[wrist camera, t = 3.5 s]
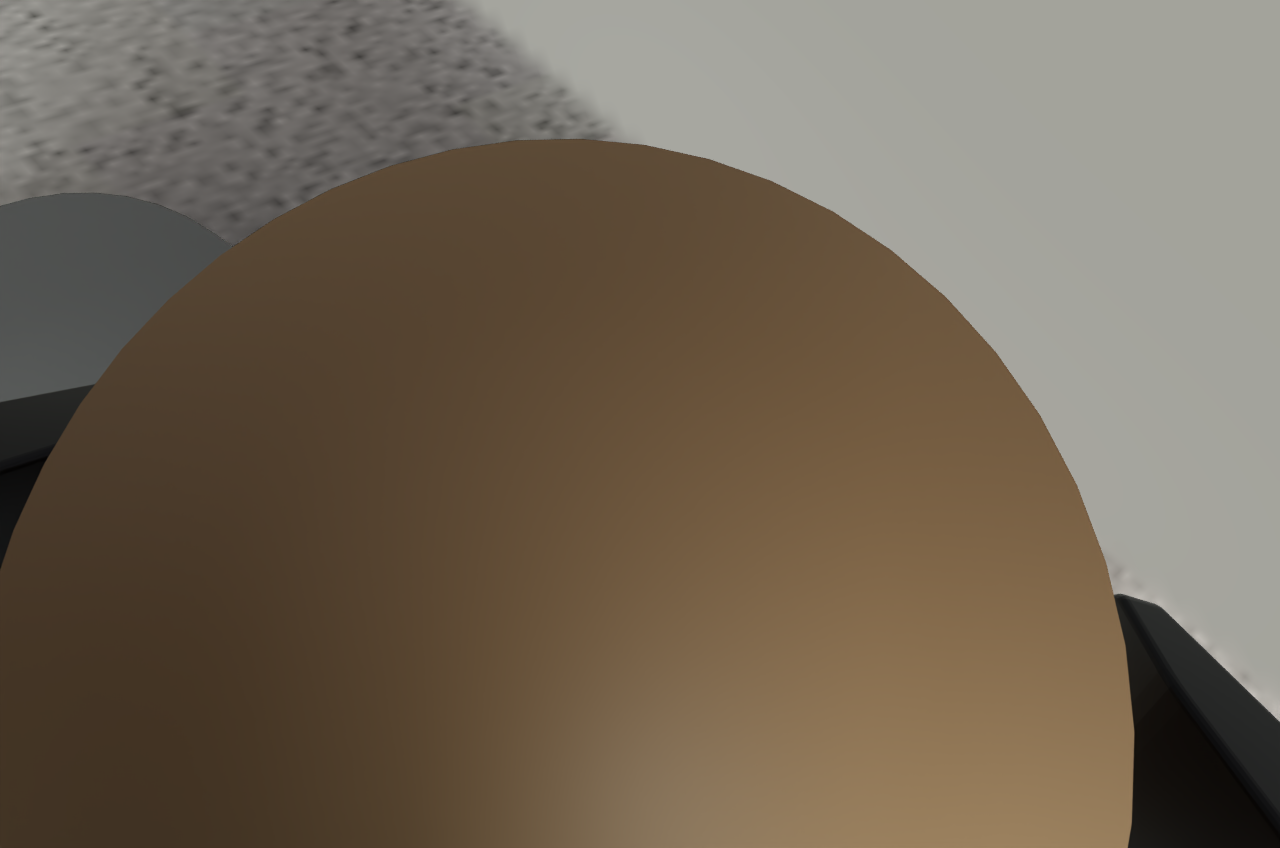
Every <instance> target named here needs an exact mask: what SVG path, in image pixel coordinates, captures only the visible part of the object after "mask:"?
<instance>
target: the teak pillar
mask: <svg viewBox="0 0 1280 848" xmlns="http://www.w3.org/2000/svg"><path fill="white" fill-rule="evenodd" d="M1133 762H1134V724H1133V715H1132V705H1131V695H1130V685H1129V676H1128V666H1127V656H1126V646H1125V641H1124V637H1123V633H1122V629H1121V624H1120V620H1119V616H1118V612H1117V607H1116V603H1115V599H1114V595H1113V590H1112V586H1111V582H1110V578H1109V573H1108V569H1107V565H1106V561H1105V559H1104V556H1103V553H1102V551H1101V548H1100V545H1099V543H1098V540H1097V537H1096V535H1095V532H1094V529H1093V527H1092V524H1091V521H1090V519H1089V516H1088V513H1087V511H1086V508H1085V505H1084V503H1083V500H1082V498H1081V495H1080V492H1079V489H1078V487H1077V485H1076V483H1075V481H1074V479H1073V477H1072V475H1071V473H1070V471H1069V469H1068V468H1067V466H1066V464H1065V462H1064V460H1063V458H1062V456H1061V454H1060V453H1059V451H1058V448H1057V447H1056V445H1055V443H1054V441H1053V439H1052V437H1051V435H1050V433H1049V432H1048V430H1047V428H1046V426H1045V424H1044V422H1043V420H1042V418H1041V416H1040V415H1039V413H1038V412H1037V410H1036V409H1035V408H1034V406H1033V405H1032V403H1031V402H1030V400H1029V399H1028V398H1027V396H1026V395H1025V393H1024V392H1023V390H1022V389H1021V388H1020V386H1019V385H1018V383H1017V382H1016V380H1015V379H1014V377H1013V376H1012V375H1011V373H1010V372H1009V370H1008V369H1007V367H1006V366H1005V365H1004V363H1003V362H1002V360H1001V359H1000V358H999V356H998V355H997V353H996V352H995V351H994V350H993V349H992V347H991V346H990V345H989V344H988V343H987V342H986V341H985V340H984V339H983V338H982V336H980V334H979V333H978V332H977V331H976V330H975V329H974V328H973V327H972V325H971V324H970V323H969V322H968V321H967V320H966V319H965V318H964V317H963V315H962V314H961V313H960V312H959V311H958V310H957V309H956V308H955V307H954V306H953V305H952V303H951V302H950V301H949V300H948V299H947V298H946V297H945V296H944V295H943V294H942V293H940V292H939V291H938V290H937V289H936V288H934V287H933V286H932V285H931V284H930V283H929V282H928V281H926V280H925V279H924V278H923V277H922V276H921V275H919V274H918V273H917V272H916V271H915V270H914V269H912V268H911V267H910V266H909V265H908V264H907V263H905V262H904V261H903V260H902V259H901V258H900V257H899V256H897V255H896V254H895V253H894V252H893V251H891V250H890V249H889V248H887V247H886V246H884V245H882V244H881V243H880V242H878V241H876V240H875V239H873V238H872V237H870V236H869V235H867V234H866V233H864V232H863V231H861V230H860V229H858V228H857V227H855V226H854V225H852V224H851V223H849V222H848V221H846V220H845V219H843V218H842V217H840V216H839V215H837V214H836V213H834V212H833V211H830V210H828V209H826V208H825V207H822V206H820V205H818V204H816V203H814V202H813V201H811V200H808V199H806V198H804V197H802V196H800V195H798V194H796V193H794V192H792V191H790V190H788V189H786V188H784V187H782V186H780V185H778V184H776V183H774V182H772V181H770V180H767V179H764V178H761V177H758V176H755V175H752V174H750V173H747V172H744V171H741V170H738V169H735V168H733V167H729V166H727V165H724V164H721V163H718V162H715V161H713V160H710V159H706V158H701V157H696V156H692V155H688V154H683V153H679V152H674V151H669V150H665V149H660V148H656V147H651V146H647V145H639V144H628V143H618V142H607V141H597V140H586V139H556V140H516V141H509V142H502V143H495V144H488V145H481V146H474V147H467V148H460V149H453V150H449V151H445V152H441V153H438V154H434V155H430V156H426V157H422V158H419V159H415V160H411V161H407V162H403V163H400V164H396V165H392V166H389V167H386V168H384V169H381V170H379V171H376V172H374V173H371V174H369V175H366V176H363V177H361V178H358V179H356V180H353V181H351V182H348V183H346V184H343V185H340V186H338V187H335V188H333V189H330V190H328V191H327V192H325V193H323V194H321V195H319V196H317V197H315V198H313V199H311V200H309V201H308V202H306V203H304V204H302V205H300V206H298V207H296V208H294V209H292V210H291V211H289V212H287V213H285V214H283V215H281V216H279V217H277V218H275V219H273V220H272V221H270V222H269V223H268V224H266V225H265V226H263V227H262V228H260V229H259V230H257V231H256V232H254V233H253V234H251V235H250V236H248V237H247V238H245V239H244V240H242V241H241V242H240V243H238V244H237V245H235V246H234V247H232V248H231V249H229V250H228V251H226V252H225V253H223V254H222V255H220V256H219V257H218V258H217V259H215V260H214V261H213V262H212V263H211V264H210V265H208V266H207V267H206V268H205V269H204V270H203V271H201V272H200V273H199V274H198V275H197V276H195V277H194V278H193V279H192V280H191V281H190V282H188V283H187V284H186V285H185V286H184V287H183V288H181V289H180V290H179V291H178V292H177V293H176V294H174V295H173V296H172V297H171V298H170V299H168V301H167V302H166V303H165V304H164V305H163V306H162V307H161V308H160V309H159V310H158V311H157V312H156V313H155V314H154V315H153V316H152V317H151V319H150V320H149V321H148V322H147V323H146V324H145V325H144V326H143V327H142V328H141V329H140V330H139V331H138V332H137V333H136V334H135V336H134V337H133V338H132V339H131V340H130V341H129V342H128V343H127V344H126V345H125V346H124V347H123V348H122V349H121V351H120V352H119V353H118V355H117V356H116V357H115V359H114V360H113V361H112V363H111V364H110V365H109V367H108V368H107V369H106V371H105V372H104V373H103V374H102V376H101V377H100V378H99V380H98V381H97V382H96V384H95V385H94V386H93V388H92V389H91V390H90V392H89V393H88V394H87V396H86V397H85V398H84V400H83V401H82V402H81V404H80V405H79V407H78V408H77V410H76V412H75V413H74V415H73V417H72V418H71V420H70V422H69V423H68V425H67V427H66V428H65V430H64V432H63V433H62V435H61V437H60V438H59V440H58V442H57V443H56V445H55V447H54V448H53V450H52V452H51V453H50V455H49V457H48V458H47V460H46V462H45V463H44V465H43V467H42V470H41V472H40V474H39V476H38V478H37V480H36V483H35V485H34V487H33V489H32V491H31V493H30V496H29V498H28V500H27V502H26V504H25V506H24V509H23V511H22V513H21V515H20V517H19V519H18V522H17V524H16V526H15V528H14V530H13V533H12V536H11V539H10V542H9V545H8V548H7V551H6V554H5V557H4V560H3V563H2V566H1V569H0V848H1128V842H1129V836H1130V830H1131V824H1132V796H1133Z"/></svg>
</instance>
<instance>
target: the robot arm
mask: <svg viewBox="0 0 1280 848" xmlns="http://www.w3.org/2000/svg"><path fill="white" fill-rule="evenodd" d="M94 385H95V384H91V385H86V386H81V387H75V388H70V389H65V390H60V391H54V392H49V393H44V394H38V395H33V396H28V397H23V398H17V399H12V400H7V401H1V402H0V569H1V566H2V563H3V560H4V557H5V554H6V551H7V548H8V545H9V542H10V539H11V536H12V533H13V530H14V528H15V526H16V524H17V522H18V519H19V517H20V515H21V513H22V511H23V509H24V506H25V504H26V502H27V500H28V498H29V496H30V493H31V491H32V489H33V487H34V485H35V483H36V480H37V478H38V476H39V474H40V472H41V470H42V467H43V465H44V463H45V462H46V460H47V458H48V457H49V455H50V453H51V452H52V450H53V448H54V447H55V445H56V443H57V442H58V440H59V438H60V437H61V435H62V433H63V432H64V430H65V428H66V427H67V425H68V423H69V422H70V420H71V418H72V417H73V415H74V413H75V412H76V410H77V408H78V407H79V405H80V404H81V402H82V401H83V400H84V398H85V397H86V396H87V394H88V393H89V392H90V390H91V389H92V388H93V386H94ZM1114 599H1115V603H1116V607H1117V612H1118V616H1119V620H1120V624H1121V629H1122V633H1123V637H1124V641H1125V646H1126V656H1127V666H1128V676H1129V685H1130V695H1131V705H1132V715H1133V724H1134V762H1133V796H1132V824H1131V830H1130V836H1129V842H1128V848H1280V722H1279V721H1278V720H1277V719H1276V718H1275V717H1274V716H1273V715H1272V714H1271V713H1270V712H1269V711H1268V710H1267V709H1266V708H1265V707H1264V706H1263V705H1262V704H1261V703H1260V702H1259V701H1258V700H1257V699H1255V698H1254V697H1253V696H1252V695H1251V694H1250V693H1249V692H1248V691H1247V690H1246V689H1245V688H1244V687H1243V686H1242V685H1241V684H1240V683H1239V682H1238V681H1237V680H1236V679H1235V678H1234V677H1233V676H1232V675H1231V674H1230V673H1229V672H1228V671H1227V670H1226V669H1224V668H1223V667H1222V666H1221V665H1220V664H1219V663H1218V662H1217V661H1216V660H1215V659H1214V658H1213V657H1212V656H1211V655H1210V654H1209V653H1208V652H1207V651H1206V650H1205V649H1204V648H1203V647H1202V646H1201V645H1200V644H1199V643H1198V642H1197V641H1196V640H1195V639H1194V638H1192V637H1191V636H1190V635H1189V634H1188V633H1187V632H1186V631H1185V630H1184V629H1183V628H1182V627H1181V626H1180V625H1179V624H1178V623H1177V622H1176V621H1175V620H1174V619H1173V618H1172V617H1171V616H1170V615H1169V614H1168V613H1167V612H1166V611H1165V610H1163V609H1162V608H1161V607H1160V606H1158V605H1156V604H1153V603H1150V602H1147V601H1143V600H1140V599H1137V598H1134V597H1130V596H1127V595H1124V594H1115V595H1114Z"/></svg>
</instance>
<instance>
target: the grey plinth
mask: <svg viewBox="0 0 1280 848" xmlns="http://www.w3.org/2000/svg"><path fill="white" fill-rule="evenodd" d="M231 248H232V246H231V245H229V244H228V243H227V242H225V241H224V240H223V239H221V238H220V237H218V236H217V235H216V234H214V233H213V232H211V231H210V230H208V229H206V228H205V227H203V226H201V225H200V224H198V223H196V222H195V221H193V220H192V219H190V218H188V217H187V216H184V215H182V214H179V213H177V212H175V211H172V210H170V209H168V208H165V207H163V206H161V205H158V204H154V203H150V202H147V201H143V200H139V199H135V198H131V197H127V196H119V195H110V194H101V193H62V194H55V195H49V196H42V197H35V198H29V199H25V200H21V201H17V202H14V203H10V204H6V205H2V206H0V402H1V401H7V400H12V399H17V398H23V397H28V396H33V395H38V394H44V393H49V392H54V391H60V390H65V389H70V388H75V387H81V386H86V385H91V384H96V382H97V381H98V380H99V378H100V377H101V376H102V374H103V373H104V372H105V371H106V369H107V368H108V367H109V365H110V364H111V363H112V361H113V360H114V359H115V357H116V356H117V355H118V353H119V352H120V351H121V349H122V348H123V347H124V346H125V345H126V344H127V343H128V342H129V341H130V340H131V339H132V338H133V337H134V336H135V334H136V333H137V332H138V331H139V330H140V329H141V328H142V327H143V326H144V325H145V324H146V323H147V322H148V321H149V320H150V319H151V317H152V316H153V315H154V314H155V313H156V312H157V311H158V310H159V309H160V308H161V307H162V306H163V305H164V304H165V303H166V302H167V301H168V299H170V298H171V297H172V296H173V295H174V294H176V293H177V292H178V291H179V290H180V289H181V288H183V287H184V286H185V285H186V284H187V283H188V282H190V281H191V280H192V279H193V278H194V277H195V276H197V275H198V274H199V273H200V272H201V271H203V270H204V269H205V268H206V267H207V266H208V265H210V264H211V263H212V262H213V261H214V260H215V259H217V258H218V257H219V256H220V255H222V254H223V253H225V252H226V251H228V250H229V249H231Z"/></svg>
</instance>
